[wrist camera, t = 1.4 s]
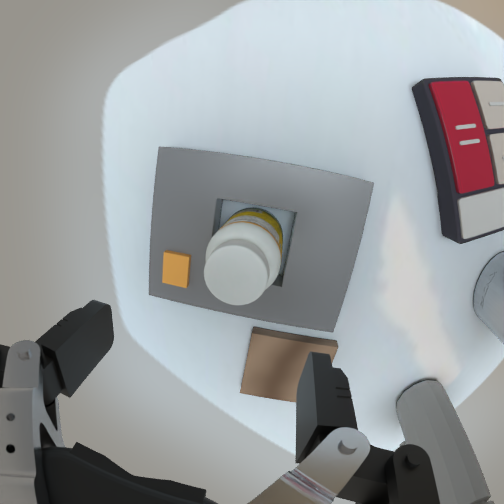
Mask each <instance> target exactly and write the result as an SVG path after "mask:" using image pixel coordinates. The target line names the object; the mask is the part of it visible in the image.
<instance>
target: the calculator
mask: <svg viewBox="0 0 504 504" xmlns="http://www.w3.org/2000/svg"><path fill="white" fill-rule="evenodd" d="M412 91H413V94H414V97H415V101H416V104H417V107H418V110H419V114H420V117H421V121H422V124H423V128H424V132H425V136H426V140H427V143H428V147H429V151H430V155H431V160H432V164H433V169H434V173H435V178H436V183H437V189H438V203H439V211H440V219H441V229H442V235H443V236H445V237H447V238H449V239H451V240H453V241H455V242H457V243H459V244H462V243H465V242H469V241H472V240H475V239H478V238H481V237H484V236H487V235H490V234H493V233H496V232H499V231H502V230H504V84H503V82H502V81H501V79H499V78H485V77H449V78H427V79H423V80H421V81H420V82H419V83H417V84H416V85H414V86H413V87H412Z"/></svg>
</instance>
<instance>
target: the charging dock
mask: <svg viewBox="0 0 504 504" xmlns="http://www.w3.org/2000/svg"><path fill="white" fill-rule="evenodd" d="M373 185H374V183H373V182H369V181H366V180H362V179H358V178H354V177H350V176H345V175H341V174H337V173H332V172H328V171H323V170H318V169H314V168H309V167H304V166H299V165H294V164H288V163H283V162H277V161H271V160H265V159H259V158H253V157H247V156H240V155H233V154H225V153H218V152H210V151H201V150H192V149H182V148H171V147H159V150H158V158H157V166H156V175H155V185H154V195H153V207H152V221H151V238H150V263H149V295H152V296H156V297H160V298H164V299H168V300H172V301H176V302H180V303H184V304H188V305H192V306H197V307H201V308H205V309H210V310H214V311H219V312H224V313H228V314H233V315H238V316H243V317H248V318H253V319H258V320H263V321H268V322H274V323H279V324H285V325H290V326H296V327H302V328H308V329H314V330H320V331H327V332H333V331H334V328H335V325H336V322H337V319H338V316H339V313H340V310H341V307H342V304H343V301H344V297H345V294H346V291H347V288H348V284H349V281H350V278H351V274H352V271H353V267H354V264H355V260H356V256H357V253H358V249H359V245H360V241H361V238H362V234H363V230H364V225H365V221H366V217H367V213H368V208H369V204H370V200H371V195H372V190H373ZM223 199H225V200H231V201H237V202H243V203H249V204H255V205H260V206H266V207H271V208H277V209H282V210H287V211H292V212H295V218H294V223H293V228H292V233H291V238H290V243H289V247H288V252H287V257H286V262H285V267H284V271H283V276H280V275H278V276H277V278H276V279H275V281H274V282H273V283H272V284H271V285H270V286H269V287H268V288H267V289H266V290H265V291H264V292H263V294H262V295H261V296H260V297H259V298H258V299H257V300H255V301H253V302H251V303H249V304H245V305H231V304H228V303H225V302H223V301H221V300H219V299H218V298H216V297H215V296H214V295H213V294H212V293H211V292H210V290H209V289H208V287H207V285H206V282H205V279H204V267H205V264H206V250H207V246H208V244H209V242H210V240H211V238H212V237H213V236H214V234H215V233H216V232H217V231H218V230H219V223H220V215H221V208H222V201H223Z"/></svg>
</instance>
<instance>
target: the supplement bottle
mask: <svg viewBox="0 0 504 504" xmlns="http://www.w3.org/2000/svg"><path fill="white" fill-rule="evenodd" d="M282 244H283V234H282V228H281V225H280V223H279V222H278V220H277V219H276V218H275V217H274V216H273V215H272V214H271V213H269V212H268V211H266V210H263V209H260V208H246V209H243V210H240V211H238V212H237V213H235V214H234V215H233V216H231V218H230V219H229V220H228V221H227V222H226V223H225V224H224V225H223V226H222V227H221V228H220V229H219V230H218V231H217V232H216V233H215V234H214V236H213V237H212V238H211V240H210V242H209V244H208V246H207V250H206V264H205V267H204V279H205V282H206V285H207V287H208V289H209V290H210V292H211V293H212V294H213V295H214V296H215V297H216V298H218V299H219V300H221V301H223V302H225V303H228V304H231V305H245V304H249V303H251V302H253V301H255V300H257V299H258V298H259V297H260V296H261V295H262V294H263V292H264V291H265V290H266V289H267V288H268V287H269V286H270V285H271V284H272V283H273V282H274V281H275V279H276V278H277V276H278V273H279V270H280V266H281V258H282Z"/></svg>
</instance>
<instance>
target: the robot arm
mask: <svg viewBox="0 0 504 504" xmlns="http://www.w3.org/2000/svg"><path fill="white" fill-rule="evenodd" d="M474 309H475V312H476V314H477V316H478V317H479V318H480V319H481V320H482V321H483V322H484V323H485V324H486V325H487V327H488V328H489V329H490V330H491V331H492V332H493V333H494V334H495V336H496V337H497V338H498V339H499V340H500V341H501V342H502V343H503V345H504V252H501V253H499V254H498V255H496V256H495V257H494V258H493V259H492V260H490V262H489V263H488V264H487V265H486V267H485V268H484V270H483V272H482V273H481V275H480V277H479V280H478V282H477V285H476V288H475V293H474ZM113 340H114V332H113V322H112V311H111V307H110V305H108V304H105V303H102V302H99V301H96V300H92V301H90V302H89V303H88V304H87V305H86V306H84V307H83V308H79V309H76V310H74V311H72V312H70V313H69V314H67V315H66V316H65V317H64V318H63V320H60V321H59V322H58V323H57V325H54V326H53V327H52V328H51V329H50V330H48V331H47V332H46V333H45V334H44V335H42V336H41V337H40V338H39V339H38V340H37V341H36V342H33V341H30V340H23V341H19V342H16V343H15V344H13V345H12V346H11V347H8V346H4V345H0V504H218V503H216V502H214V501H212V500H210V499H208V498H206V497H205V496H206V490H205V489H201V488H196V487H192V486H188V485H185V484H181V483H178V482H174V481H171V480H161V479H153V478H145V477H138V476H133V475H131V474H130V473H128V472H127V471H125V470H124V469H122V468H121V467H119V466H118V465H117V464H115V463H114V462H112V461H111V460H110V459H108V458H107V457H106V456H104V455H102V454H100V453H98V452H96V451H93V450H92V449H90V448H88V447H86V446H84V445H82V444H80V443H78V442H76V444H75V445H74V447H73V448H66V447H65V445H64V443H63V439H62V434H61V425H60V416H59V403H58V399H57V396H58V394H59V393H62V394H64V395H66V396H68V397H71V396H72V395H73V394H74V392H75V391H76V390H77V389H78V387H79V386H80V385H81V383H82V382H83V381H84V380H85V379H86V377H87V376H88V375H89V374H90V373H91V371H92V370H93V369H94V368H95V367H96V365H97V364H98V363H99V362H100V360H101V359H102V358H103V357H104V356H105V355H106V353H107V352H108V351H109V350H110V348H111V346H112V344H113ZM349 389H350V387H349V382H348V378H347V377H346V375H345V374H344V373H343V371H342V370H341V369H340V368H332V363H331V357H330V354H325V353H318V352H311V351H310V352H309V354H308V357H307V360H306V362H305V365H304V368H303V371H302V374H301V377H300V379H299V382H298V387H297V394H296V463H300V464H299V465H298V466H297V467H296V468H295V469H294V470H292V471H291V472H290V471H288V472H287V473H285V474H284V475H282V476H281V477H280V478H279V479H278V480H276V481H275V482H274V483H273V484H272V485H270V486H269V487H268V488H267V489H266V490H264V491H263V492H262V493H261V494H259V495H258V496H257V497H256V498H255V499H253V500H252V501H250V502H249V503H248V504H331V503H332V502H333V499H334V498H335V497H339V498H342V499H346V500H350V501H354V502H356V504H440V500H439V495H438V490H437V486H436V481H435V477H434V473H433V468H432V464H431V460H430V457H429V455H428V453H427V452H426V451H425V450H424V449H423V448H421V447H419V446H417V445H414V444H405V445H402V446H400V447H399V448H398V449H397V450H396V451H395V452H393V451H389V450H385V449H381V448H377V447H374V446H372V445H370V443H369V440H368V439H367V437H366V436H365V435H364V434H363V433H362V432H360V431H358V428H357V422H356V417H355V412H354V407H353V402H352V399H351V392H350V390H349Z"/></svg>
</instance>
